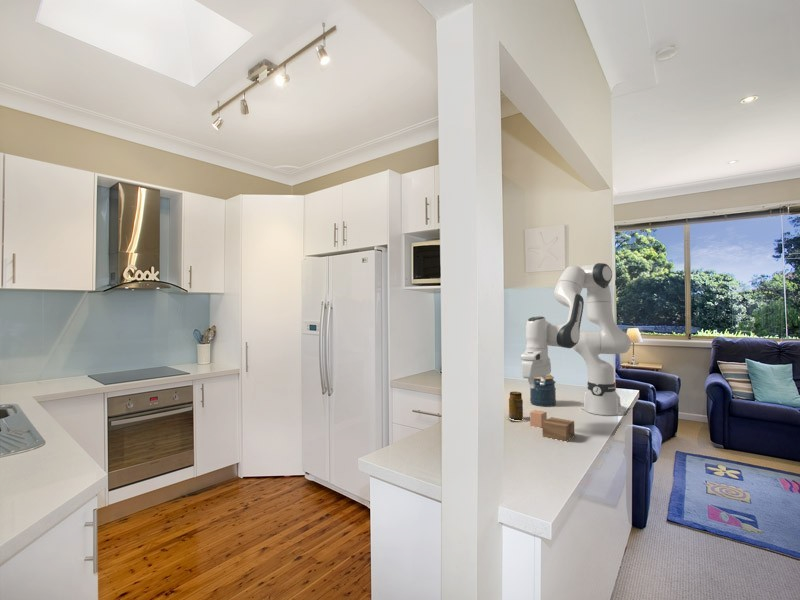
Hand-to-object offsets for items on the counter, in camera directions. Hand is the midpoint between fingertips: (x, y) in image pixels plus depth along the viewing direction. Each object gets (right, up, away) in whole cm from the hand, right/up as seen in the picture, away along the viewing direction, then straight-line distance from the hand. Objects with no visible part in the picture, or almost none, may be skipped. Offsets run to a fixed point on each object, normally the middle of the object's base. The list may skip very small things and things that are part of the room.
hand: (537, 386), depth 168 cm
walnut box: (+3, -17, -15) cm, 22 cm away
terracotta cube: (0, -17, 0) cm, 17 cm away
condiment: (-6, -17, +10) cm, 21 cm away
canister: (+16, -18, +39) cm, 45 cm away
